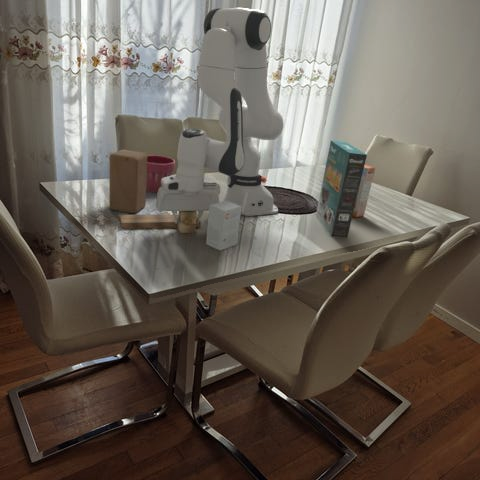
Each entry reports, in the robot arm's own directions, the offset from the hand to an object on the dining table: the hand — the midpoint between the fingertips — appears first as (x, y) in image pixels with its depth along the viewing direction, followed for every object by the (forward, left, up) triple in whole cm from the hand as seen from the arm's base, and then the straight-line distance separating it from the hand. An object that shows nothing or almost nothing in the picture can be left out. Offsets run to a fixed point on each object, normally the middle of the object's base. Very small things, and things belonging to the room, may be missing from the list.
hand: (186, 222), depth 140 cm
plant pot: (+3, -44, -3) cm, 45 cm away
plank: (+8, -6, -3) cm, 10 cm away
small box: (-8, +12, -3) cm, 15 cm away
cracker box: (-74, -17, -3) cm, 75 cm away
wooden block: (+17, -21, -3) cm, 27 cm away
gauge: (0, -2, -3) cm, 3 cm away
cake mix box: (-56, -1, -3) cm, 57 cm away
